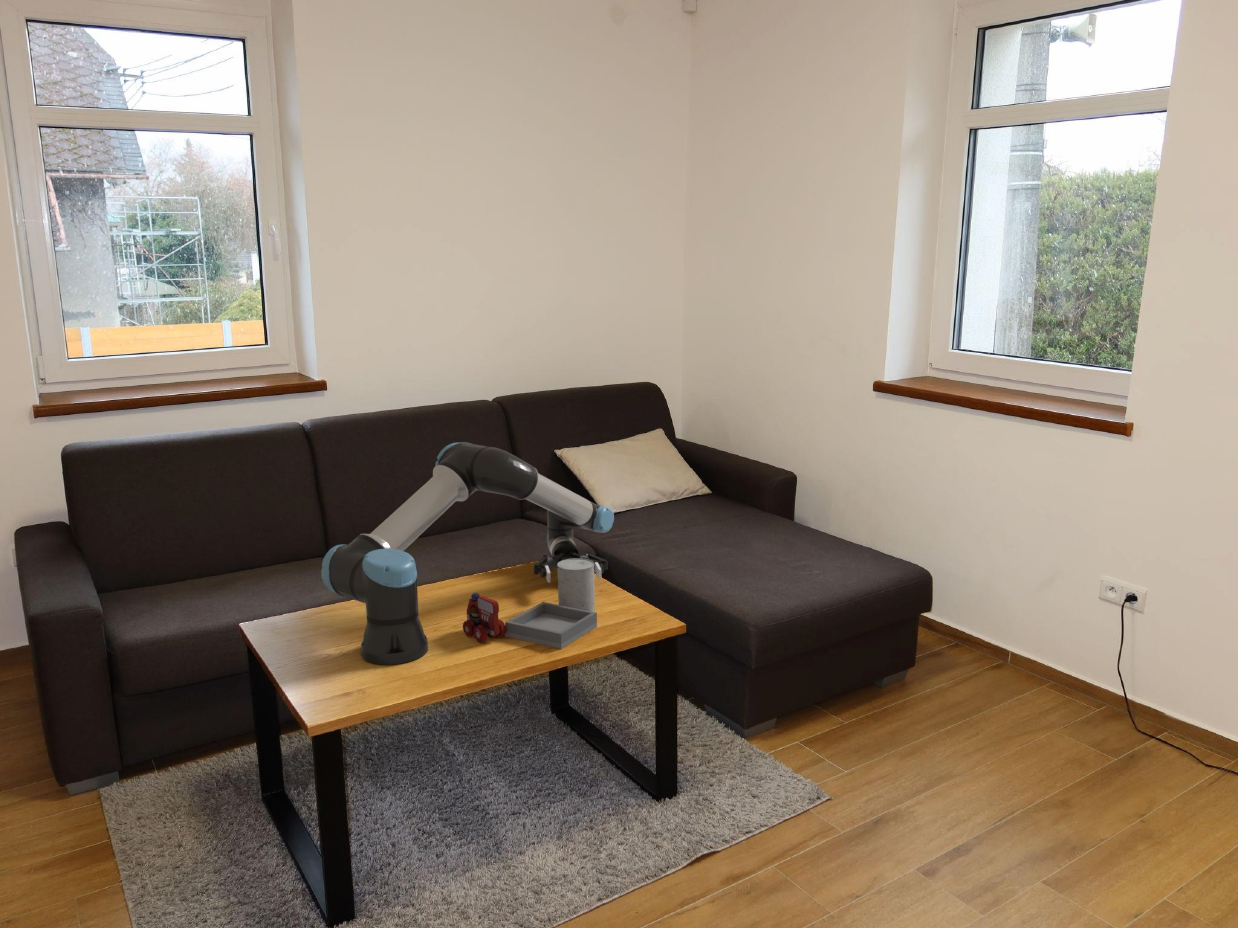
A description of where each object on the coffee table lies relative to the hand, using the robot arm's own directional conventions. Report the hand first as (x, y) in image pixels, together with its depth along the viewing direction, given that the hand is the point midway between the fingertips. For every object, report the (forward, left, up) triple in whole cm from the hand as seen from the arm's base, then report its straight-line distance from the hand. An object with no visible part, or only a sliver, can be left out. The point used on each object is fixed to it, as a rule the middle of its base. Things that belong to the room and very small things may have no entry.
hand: (574, 576), depth 257 cm
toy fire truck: (-6, -31, -7) cm, 33 cm away
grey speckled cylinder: (+4, -5, -7) cm, 10 cm away
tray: (+7, -21, -7) cm, 24 cm away
